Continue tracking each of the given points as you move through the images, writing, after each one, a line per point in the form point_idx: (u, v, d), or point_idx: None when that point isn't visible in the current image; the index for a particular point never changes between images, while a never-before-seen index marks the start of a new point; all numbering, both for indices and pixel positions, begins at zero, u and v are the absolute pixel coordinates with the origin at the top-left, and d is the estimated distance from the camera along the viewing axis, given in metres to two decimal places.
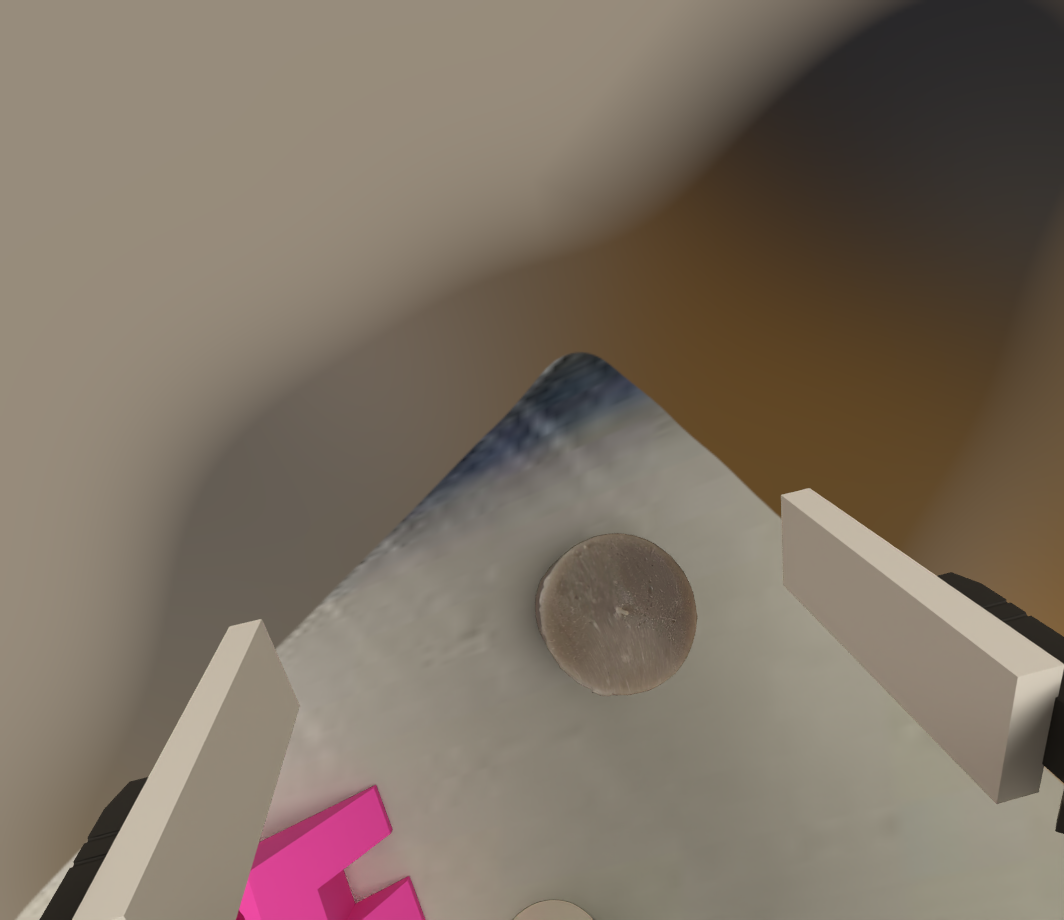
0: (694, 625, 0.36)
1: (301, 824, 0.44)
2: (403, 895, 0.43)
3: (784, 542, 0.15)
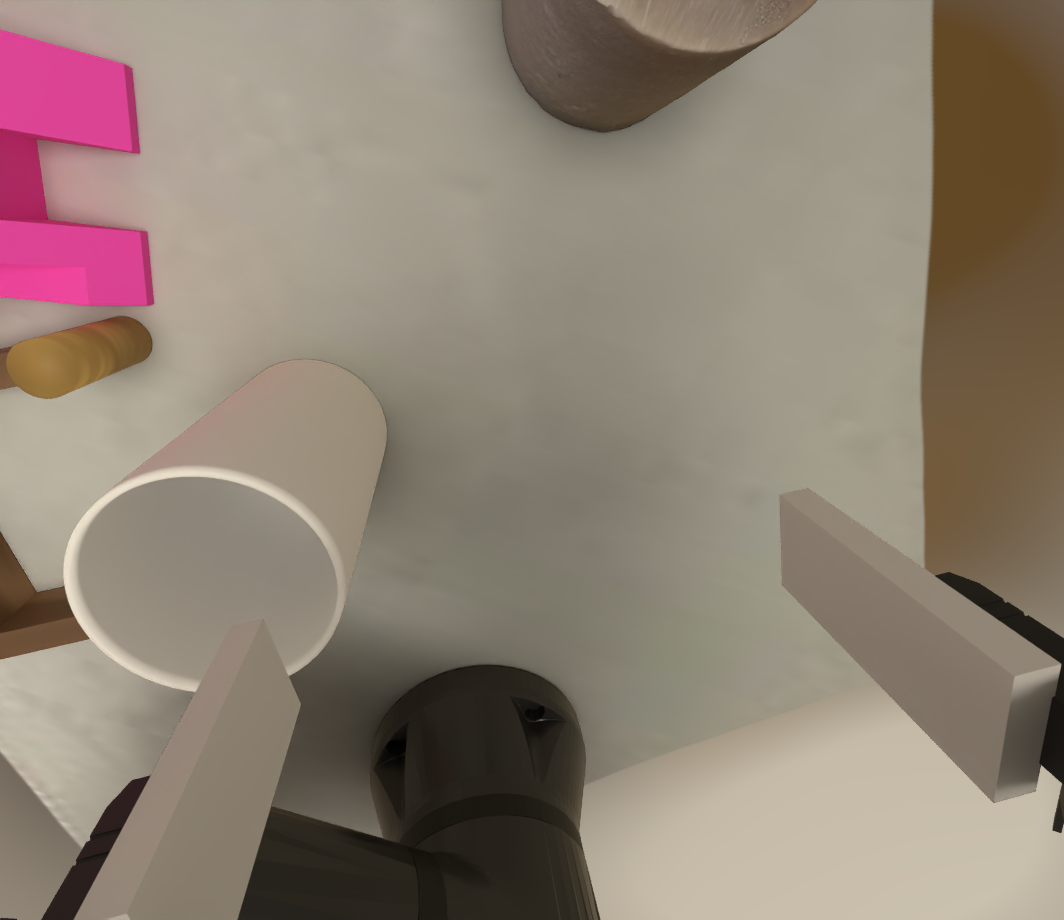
0: None
1: None
2: (125, 244, 0.28)
3: (782, 541, 0.15)
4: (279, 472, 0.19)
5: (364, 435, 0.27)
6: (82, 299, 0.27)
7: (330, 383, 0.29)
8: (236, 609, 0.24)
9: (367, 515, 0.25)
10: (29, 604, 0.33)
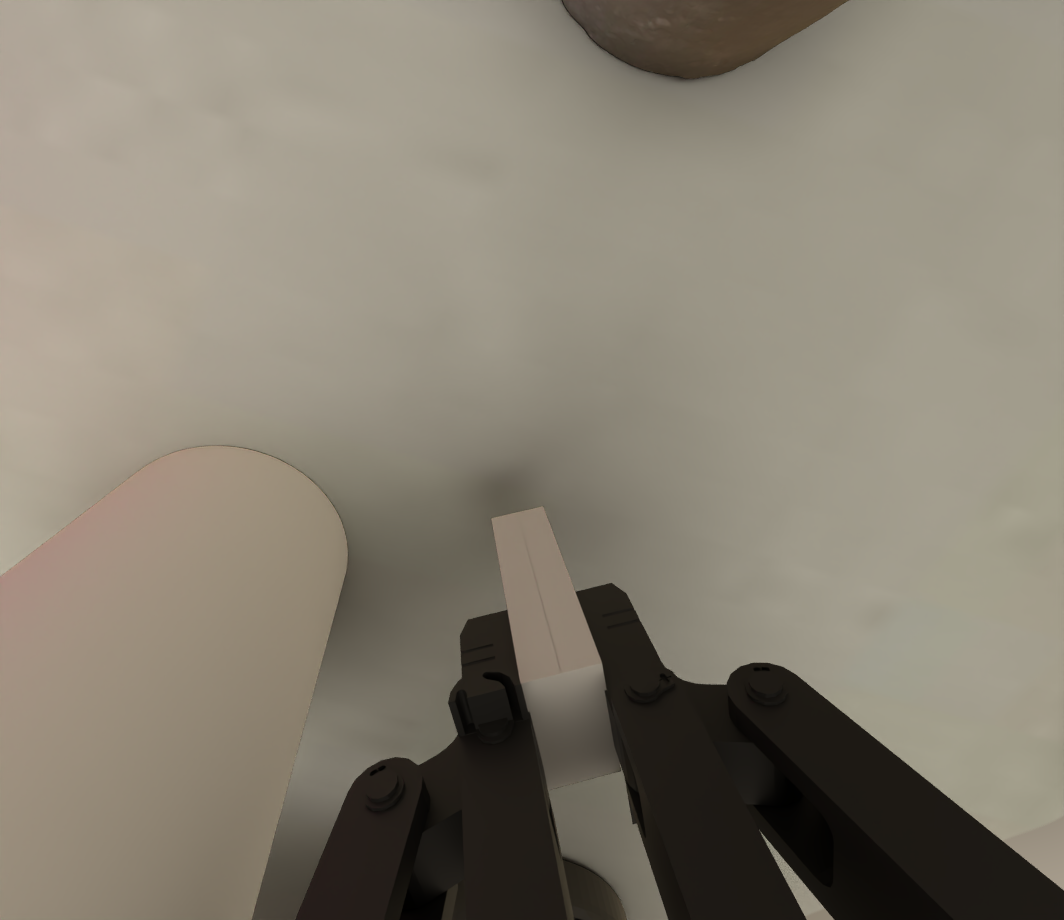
0: None
1: None
2: None
3: None
4: None
5: (294, 598, 0.16)
6: None
7: (242, 498, 0.17)
8: None
9: (290, 772, 0.14)
10: None
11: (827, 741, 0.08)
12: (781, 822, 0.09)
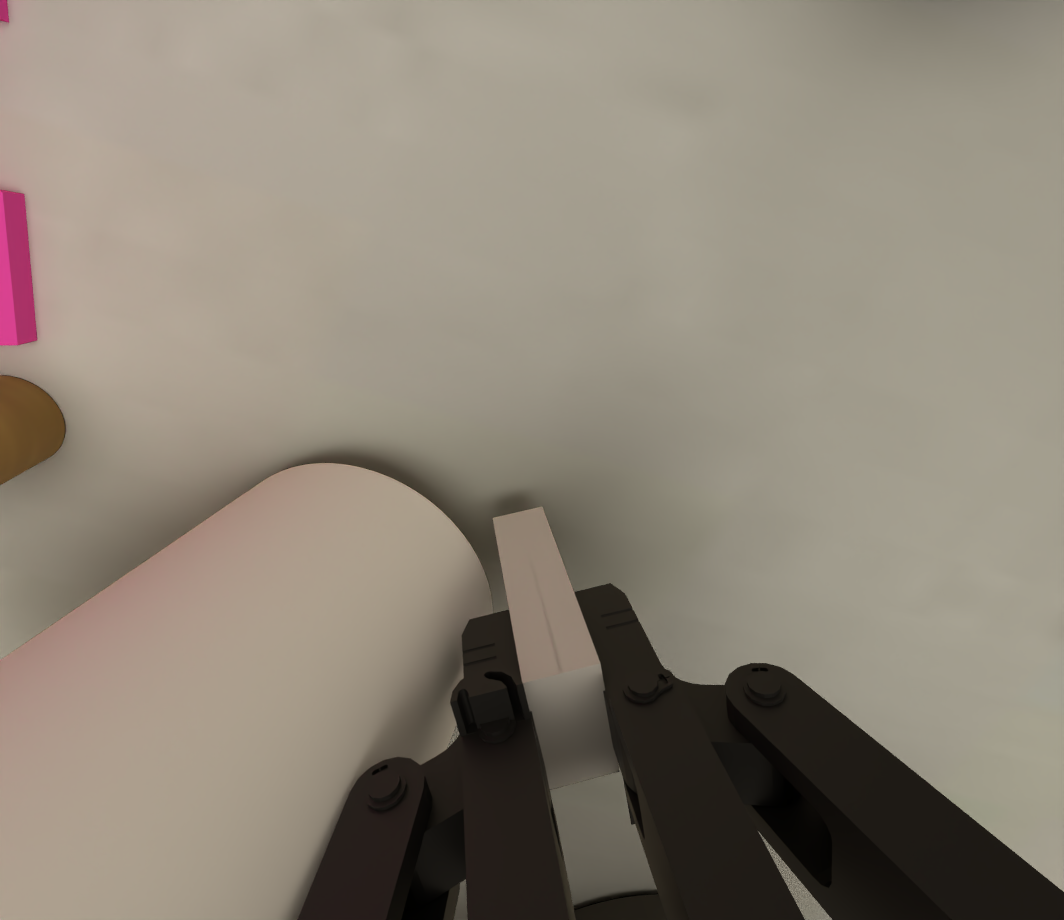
0: None
1: None
2: None
3: None
4: None
5: (375, 745, 0.10)
6: None
7: (340, 561, 0.12)
8: None
9: None
10: None
11: (826, 742, 0.08)
12: (779, 823, 0.09)
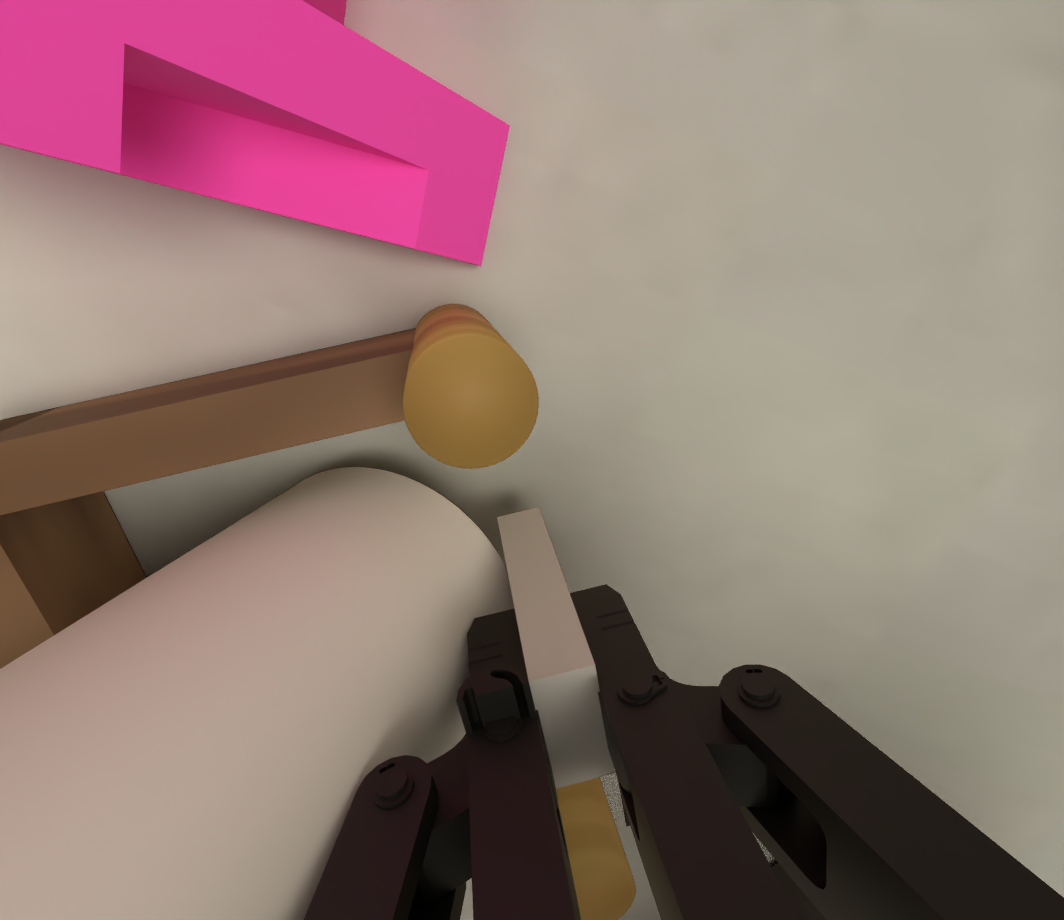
0: None
1: None
2: (487, 142, 0.14)
3: None
4: None
5: (383, 749, 0.10)
6: (405, 234, 0.14)
7: (361, 563, 0.12)
8: None
9: None
10: None
11: (820, 743, 0.08)
12: (773, 825, 0.09)
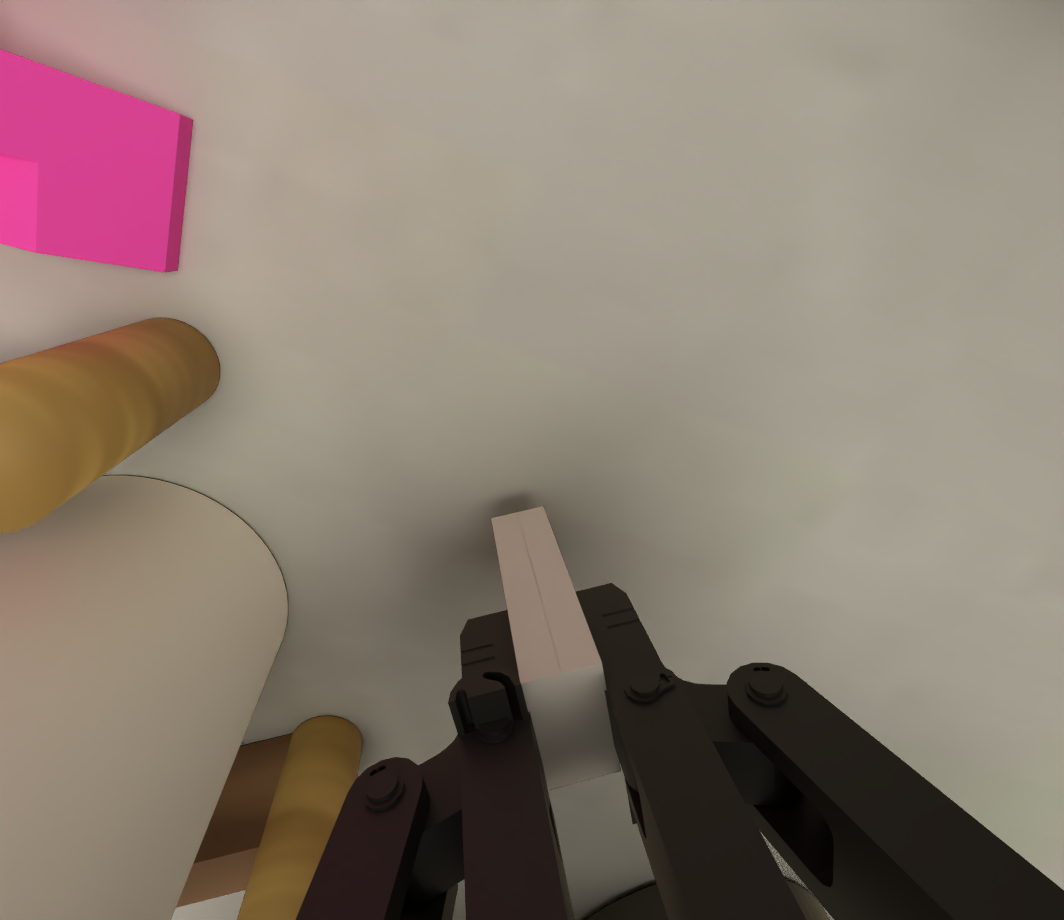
0: None
1: None
2: (143, 133, 0.12)
3: None
4: None
5: (181, 700, 0.12)
6: (21, 235, 0.12)
7: (130, 556, 0.13)
8: None
9: None
10: None
11: (827, 741, 0.08)
12: (780, 822, 0.09)
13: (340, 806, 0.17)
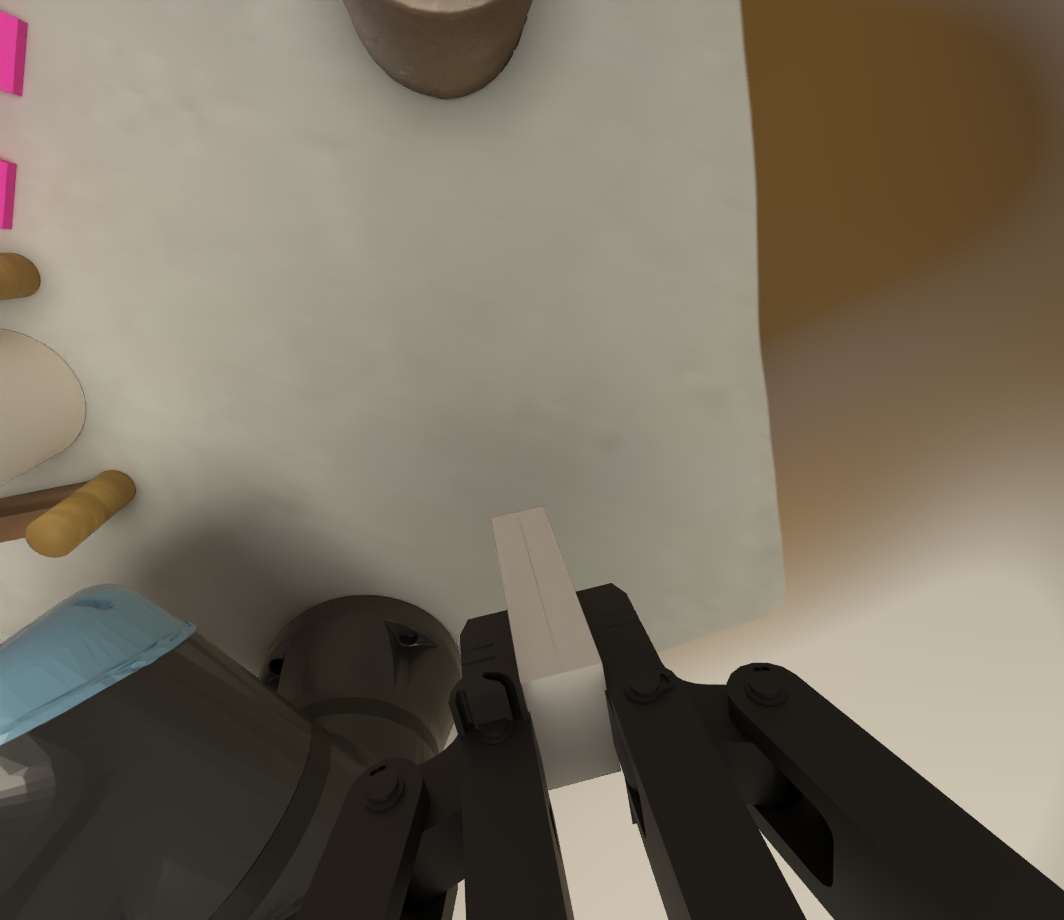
0: None
1: None
2: None
3: None
4: None
5: (2, 395, 0.30)
6: None
7: None
8: None
9: None
10: None
11: (828, 742, 0.08)
12: (780, 822, 0.09)
13: (105, 497, 0.36)
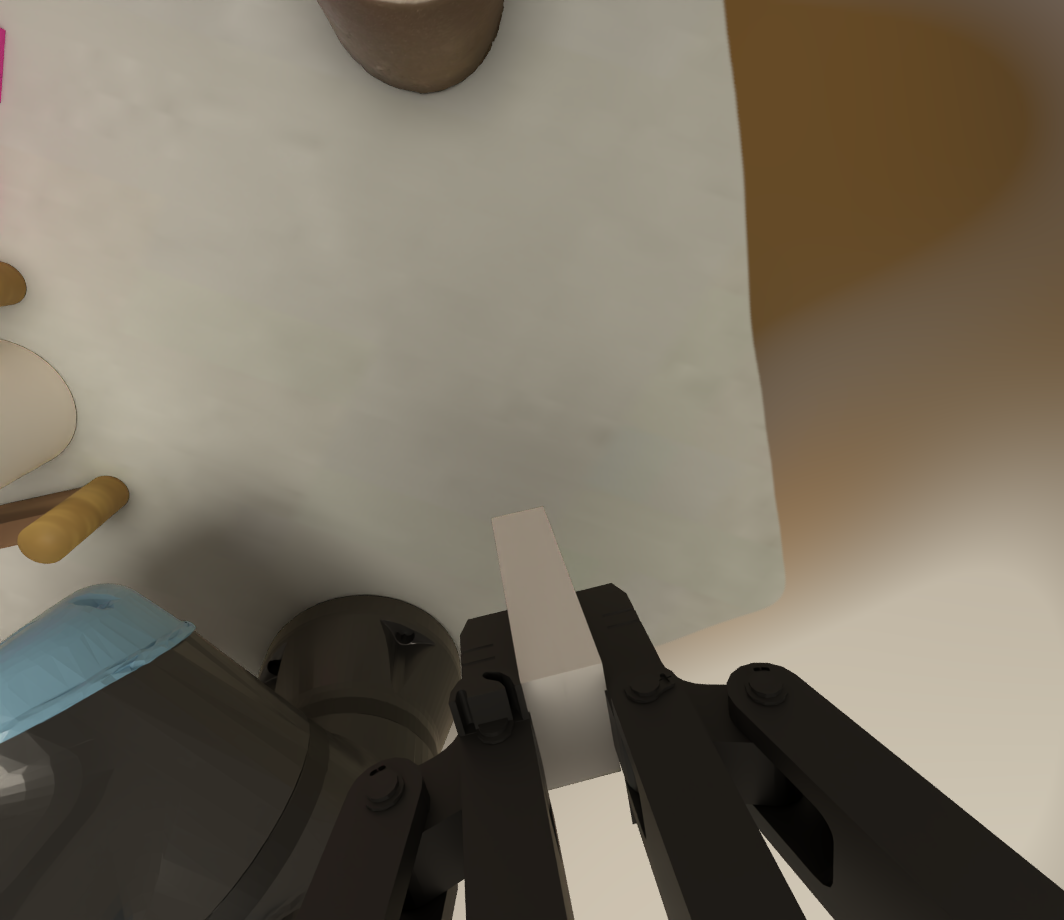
0: None
1: None
2: None
3: None
4: None
5: None
6: None
7: None
8: None
9: None
10: None
11: (828, 741, 0.08)
12: (781, 822, 0.09)
13: (97, 502, 0.36)
